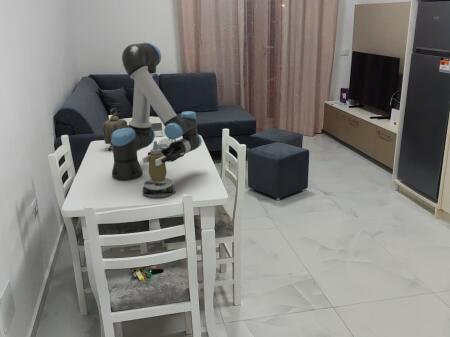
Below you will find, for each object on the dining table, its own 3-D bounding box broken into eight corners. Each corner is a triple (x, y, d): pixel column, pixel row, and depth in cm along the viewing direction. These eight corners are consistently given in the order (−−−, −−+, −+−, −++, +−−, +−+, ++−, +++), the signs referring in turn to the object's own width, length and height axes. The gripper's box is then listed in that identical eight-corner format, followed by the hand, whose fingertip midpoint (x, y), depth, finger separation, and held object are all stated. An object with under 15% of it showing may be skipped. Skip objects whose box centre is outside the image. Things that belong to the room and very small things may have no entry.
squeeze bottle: (154, 184, 191) (151, 145, 185) (146, 179, 197) (142, 141, 191) (170, 180, 195) (167, 141, 189) (162, 175, 201) (159, 138, 195)
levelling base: (140, 199, 191) (139, 189, 189) (145, 186, 205) (144, 177, 203) (174, 197, 191) (173, 188, 190) (177, 185, 205) (176, 176, 204)
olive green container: (117, 144, 275) (113, 105, 267) (130, 145, 272) (126, 106, 264) (105, 151, 262) (100, 110, 254) (118, 152, 259) (113, 111, 251)
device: (172, 161, 240) (171, 144, 237) (154, 161, 240) (153, 144, 237) (179, 146, 269) (178, 130, 266) (163, 146, 269) (162, 131, 266)
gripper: (196, 158, 204) (168, 173, 185) (163, 153, 213) (133, 167, 194) (196, 142, 202) (167, 156, 183) (162, 138, 211) (131, 151, 192)
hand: (149, 162), depth 189 cm, fingers closed on squeeze bottle, 6 cm apart
